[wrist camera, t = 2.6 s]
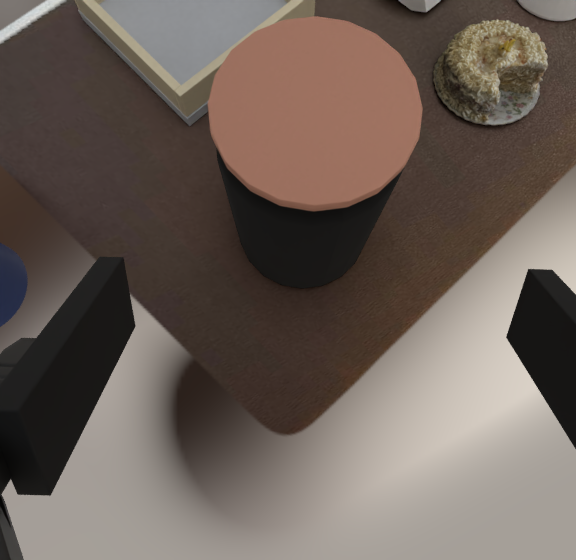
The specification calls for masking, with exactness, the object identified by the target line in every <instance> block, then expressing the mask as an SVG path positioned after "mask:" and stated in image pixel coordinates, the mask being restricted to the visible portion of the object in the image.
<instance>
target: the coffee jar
mask: <svg viewBox="0 0 576 560" xmlns="http://www.w3.org/2000/svg"><path fill="white" fill-rule="evenodd" d="M207 105H208V114H209V123H210V132H211V136H212V138H213V141H214V143H215V145H216V149H217V158H218V163H219V167H220V171H221V174H222V178H223V181H224V185H225V188H226V192H227V196H228V199H229V203H230V206H231V210H232V213H233V217H234V221H235V224H236V228H237V231H238V235H239V238H240V242H241V245H242V247H243V249H244V251H245V253H246V255H247V257H248V259H249V261H250V262H251V263H252V264H253V265H254V266H255V267H256V268H257V269H258V270H259V271H260V272H261V274H262V275H263V276H265V277H267V278H269V279H271V280H273V281H275V282H277V283H279V284H281V285H285V286H291V287H296V288H309V287H316V286H323V285H325V284H327V283H329V282H331V281H333V280H335V279H337V278H339V277H341V276H342V275H343V274H344V273H345V272H346V271H347V270H348V269H349V268H350V267H352V266H353V265H354V264H355V262H356V260H357V258H358V256H359V254H360V252H361V250H362V249H363V247H364V245H365V243H366V241H367V239H368V237H369V235H370V233H371V231H372V229H373V227H374V225H375V223H376V222H377V220H378V218H379V216H380V214H381V212H382V210H383V208H384V206H385V204H386V202H387V200H388V198H389V196H390V195H391V193H392V191H393V189H394V187H395V185H396V183H397V181H398V179H399V177H400V175H401V173H402V171H403V169H404V167H405V166H406V163H407V161H408V159H409V157H410V155H411V153H412V151H413V149H414V147H415V146H416V144H417V142H418V140H419V135H420V126H421V118H422V110H423V108H422V104H421V99H420V95H419V91H418V87H417V83H416V79H415V77H414V76H413V74H412V72H411V71H410V69H409V68H408V66H407V65H406V63H405V61H404V60H403V58H402V57H401V55H400V54H399V53H398V52H397V51H396V50H395V49H393V48H392V47H391V46H390V45H389V44H387V43H386V42H385V41H384V40H383V39H382V38H380V37H379V36H378V35H377V34H375V33H373V32H371V31H368V30H366V29H364V28H362V27H359V26H357V25H355V24H353V23H350V22H348V21H344V20H337V19H331V18H324V17H317V16H313V17H304V18H295V19H286V20H282V21H280V22H277V23H275V24H272V25H270V26H267V27H265V28H262V29H260V30H257V31H255V32H254V33H252V34H251V35H250V36H249V37H247V38H246V39H245V40H244V41H242V42H241V43H240V44H238V45H237V46H236V47H235V48H233V49H232V50H231V51H230V53H229V54H228V56H227V57H226V59H225V60H224V62H223V63H222V65H221V66H220V68H219V69H218V71H217V73H216V74H215V76H214V80H213V84H212V88H211V92H210V96H209V100H208V104H207Z"/></svg>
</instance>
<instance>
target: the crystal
mask: <svg viewBox="0 0 576 560" xmlns="http://www.w3.org/2000/svg"><path fill="white" fill-rule="evenodd" d="M398 1H400V2H401V3H402V4H404V5H405V6H406V7H408V8H409V9H410V10H412V11H419V12H427V11H429V10H430V9H431V8H432V7H434V6H435V5H436V4H437V3H439V2H440V1H441V0H398Z"/></svg>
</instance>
